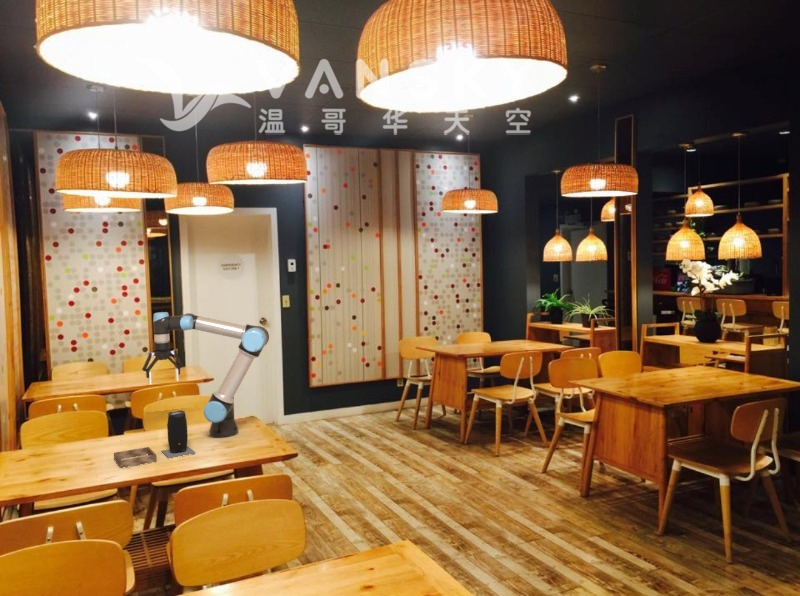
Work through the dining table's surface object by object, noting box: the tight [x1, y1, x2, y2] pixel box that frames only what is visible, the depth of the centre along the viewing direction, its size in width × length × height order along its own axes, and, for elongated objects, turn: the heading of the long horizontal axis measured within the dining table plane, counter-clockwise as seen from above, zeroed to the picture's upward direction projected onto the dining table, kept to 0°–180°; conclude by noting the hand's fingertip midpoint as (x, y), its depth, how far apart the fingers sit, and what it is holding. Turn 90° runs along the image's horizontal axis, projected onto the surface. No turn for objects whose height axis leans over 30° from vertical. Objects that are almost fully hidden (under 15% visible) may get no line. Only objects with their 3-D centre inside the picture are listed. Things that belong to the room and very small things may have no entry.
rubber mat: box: [161, 445, 196, 459], centre depth 316 cm, size 13×13×1 cm
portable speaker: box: [166, 409, 189, 453], centre depth 315 cm, size 9×9×20 cm
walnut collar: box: [113, 446, 158, 469], centre depth 305 cm, size 16×16×4 cm
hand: (163, 382), depth 334 cm, fingers open, 13 cm apart
